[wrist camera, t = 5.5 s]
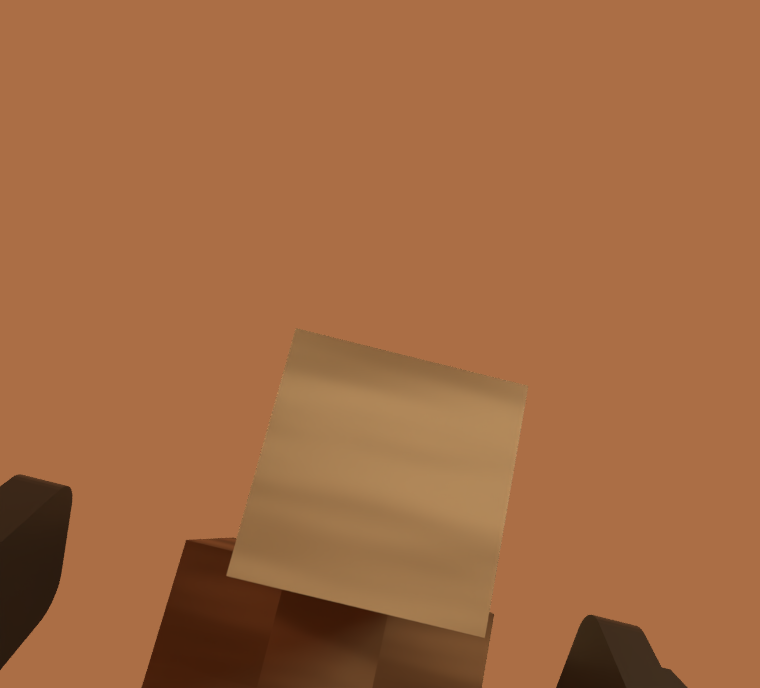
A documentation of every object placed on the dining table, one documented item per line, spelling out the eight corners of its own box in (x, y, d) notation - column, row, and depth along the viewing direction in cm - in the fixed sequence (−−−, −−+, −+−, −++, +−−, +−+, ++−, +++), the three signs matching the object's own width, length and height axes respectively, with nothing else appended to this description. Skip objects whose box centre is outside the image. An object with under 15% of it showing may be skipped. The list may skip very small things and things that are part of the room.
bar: (285, 548, 36) (310, 455, 37) (377, 570, 36) (398, 477, 37) (226, 576, 13) (295, 328, 14) (485, 638, 13) (527, 385, 14)
